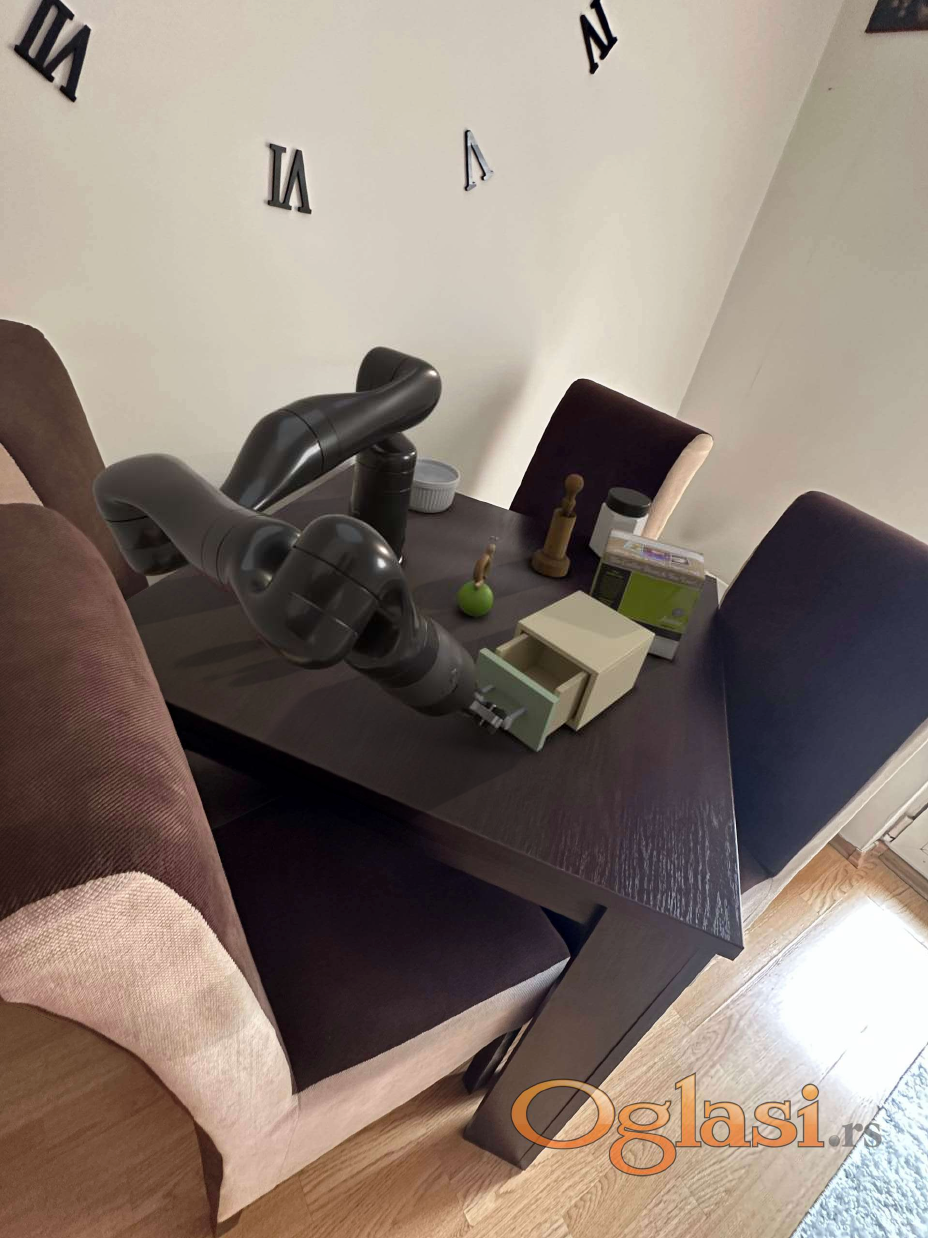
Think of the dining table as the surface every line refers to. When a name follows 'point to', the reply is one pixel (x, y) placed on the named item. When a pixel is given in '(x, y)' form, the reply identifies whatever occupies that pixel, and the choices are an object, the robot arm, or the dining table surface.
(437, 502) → the ramekin
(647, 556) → the tea box
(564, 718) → the drawer
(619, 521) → the jar
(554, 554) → the mortar and pestle
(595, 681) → the cabinet
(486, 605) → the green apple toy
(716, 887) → the dining table surface
